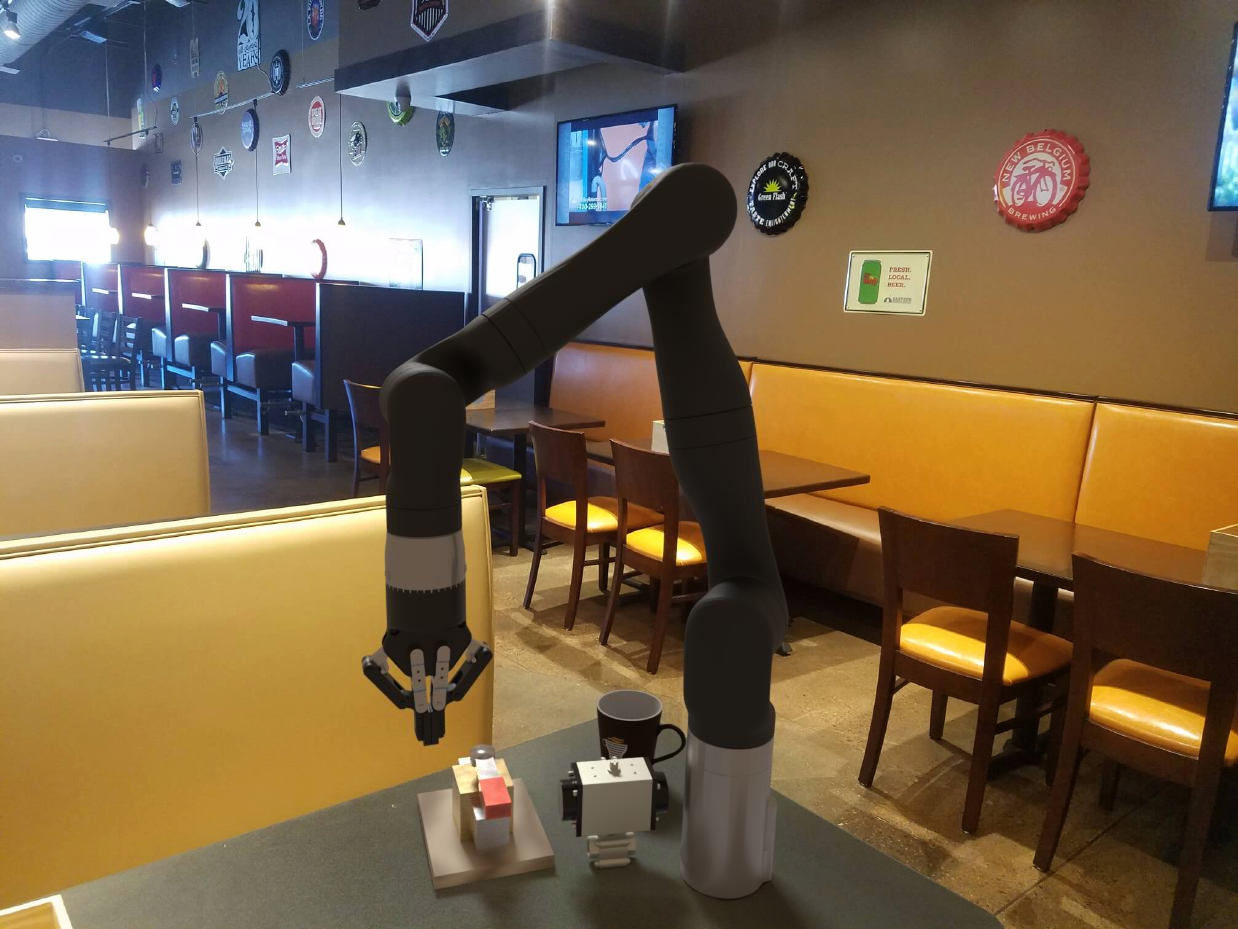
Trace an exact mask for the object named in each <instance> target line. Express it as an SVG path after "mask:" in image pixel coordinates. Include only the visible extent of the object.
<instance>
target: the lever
mask: <svg viewBox="0 0 1238 929" xmlns="http://www.w3.org/2000/svg"><path fill="white" fill-rule="evenodd" d="M469 757H470V764H471V766H473V767H475V768H476V771H477V775H478V779H479V796H480V800H481V803H482V807H483V811H484V815H485V818H486V820H490V819H497V818H504V817H511V800H510V797H509V793H508V790H507V787H506V784H505V781H504V778H503V777H499V774H498V771H497V768H496V764H495V760H496V749H495V747H494V746H492V745H490V744H477V745H475V746H472V748H470V750H469Z"/></svg>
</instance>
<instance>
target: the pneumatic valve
mask: <svg viewBox="0 0 1238 929" xmlns="http://www.w3.org/2000/svg"><path fill="white" fill-rule="evenodd" d="M567 776H568V777H569V778H560V779H558V783H557V803H558V804H557V805H558V807H557V808H558V814H559V815H558V816H559V820H560V822H562V823H565V822H571V826H572V829H573V830H574V834H575V838H582V837H586V853H587V854H586V855H587V858H588V859H589V860H595V861H594V862H593V865H594V866H595V867H596V868H598V869H605V868H615V867H617V868H618V867H626V866H628V864H630V863H631V858H630V857H629V856H634V855H635V854H636V853H637V840H636V836H635V833H637V832H647V831H648V832H649V831H655V830H657V829H656V825H657V822H659V815H657V814H665V813H668V810H669V806H670V805H669V804H670V793H669V792H670V791H669V785H668V779H667V777H666V774H665V772H664V771H655V769H654V766H653V767H652V765H651V762H650V760H649V758H648V757H640V758H627V759H617V757H615V756H614V757H612V758H611V760H606V759H605V758H604V757H602V758H601V757H599V759H598V760H590V761H588V760H587V761H577V762H576V761H575V762H574V761H573V762H571V763H570V771H567Z"/></svg>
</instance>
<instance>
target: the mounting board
mask: <svg viewBox="0 0 1238 929" xmlns="http://www.w3.org/2000/svg"><path fill="white" fill-rule="evenodd" d="M511 780H512V782H513V785H514V814H513V834H510V840H509V844H508V845H506V853H503V854H497V855H492V856H486V857H480V858H479V856H478V853H477V850H476V846H475V843H474V840H473V841H467V842H461V843H460V839H459V835H458V832H457V828H456V824H455V820H454V817H453V813H452V788H446V789H439V790H434V791H427V792H426V791H425V792H420V793H417V794H416V795H417V796H416V797H417V798H416V799H417V800H416V801H417V804H416V805H417V809H418V814H419V818H420V824H421V830H422V835H423V839H424V844H425V848H426V853H427V859H428V864H429V868H430V873H431V878H432V884H433V888H434V890H440V889H444V888H450V887H454V886H460V885H466V884H471V883H476V882H481V880H482V881H487V880H491V879H496V878H497V877H498V878H501V877H502V878H503V877H508V876H512V875H513V874H514V875H518V874H523V873H529V872H534V871H538V870H540V871H541V870H546V869H551V868H554V867H555V853H554V851H553V848H552V846H551V843H550V842H549V839H548V837H547V834H546V831H545V829H544V827H543V825H542V822H541V820H540V818H539V815H538V812H537V810H536V808H535V806H534V804H533V801H532V799H531V797H530V794H529V791H528V789H527V787H526V785H525V783H524V780H523V778H522V777H517V778H511ZM545 868H546V869H545ZM486 879H487V880H486Z"/></svg>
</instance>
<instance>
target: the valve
mask: <svg viewBox="0 0 1238 929" xmlns="http://www.w3.org/2000/svg"><path fill="white" fill-rule="evenodd" d="M495 764H496V768H497V771H498V774H499V777H503V778H504V781H505V784H506V787H507V790H508V793H509V797H510V800H511V817H504V818H497V819H490V820H486V818H485V815H484V811H483V807H482V803H481V800H480V796H479V779H478V775H477V771H476V768H475V767H473V766H471V764H470V756H468V757H460V758H457V764H456V765H452V766H451V770H452V771H451V774H452V775H451V777H452V779H451V780H452V781H451V782H452V784H451V785H452V786H451V787H452V788H451V789H452V813H453V817H454V820H455V824H456V828H457V832H458V835H459V839H460V843H461V842H467V841H473V840H474V843H475V846H476V850H477V853H478V856H479V858H480V857H486V856H492V855H497V854H503V853H506V845H508V844H509V840H510V834H513V814H514V785H513V782H512V780H511V779H512V777H511V775H510V773H509V770H508V768H507V765H506V763H505V760H504V758H499V759H497V758H495Z"/></svg>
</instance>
